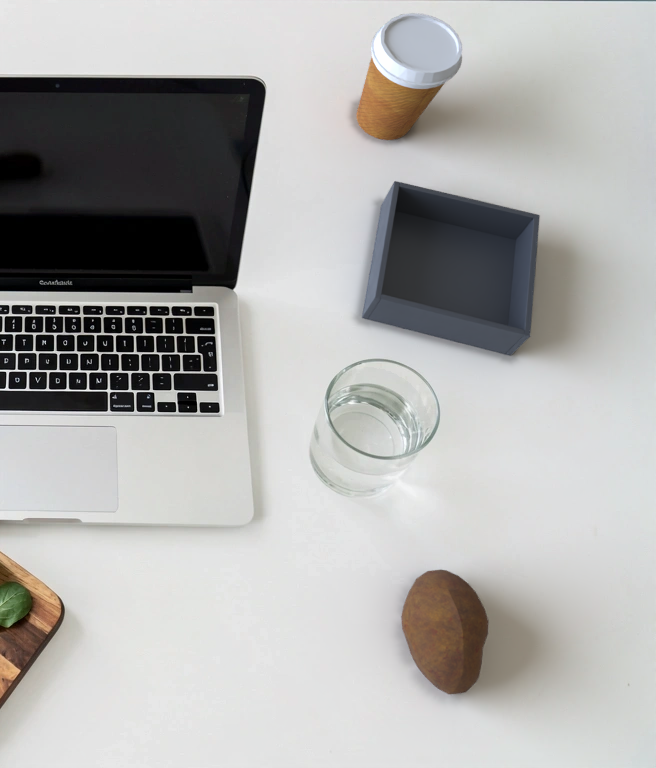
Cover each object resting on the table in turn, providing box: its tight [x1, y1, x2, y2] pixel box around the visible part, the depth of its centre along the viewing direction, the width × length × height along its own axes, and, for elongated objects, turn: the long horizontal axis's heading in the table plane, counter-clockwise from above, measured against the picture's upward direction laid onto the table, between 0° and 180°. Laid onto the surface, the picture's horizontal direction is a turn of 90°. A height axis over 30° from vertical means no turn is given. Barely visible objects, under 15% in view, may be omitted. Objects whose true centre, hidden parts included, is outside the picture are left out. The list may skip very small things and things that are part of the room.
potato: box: [400, 569, 489, 695], centre depth 77 cm, size 7×10×7 cm
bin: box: [361, 180, 541, 357], centre depth 94 cm, size 15×15×5 cm
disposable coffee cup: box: [356, 12, 463, 141], centre depth 100 cm, size 10×10×12 cm
